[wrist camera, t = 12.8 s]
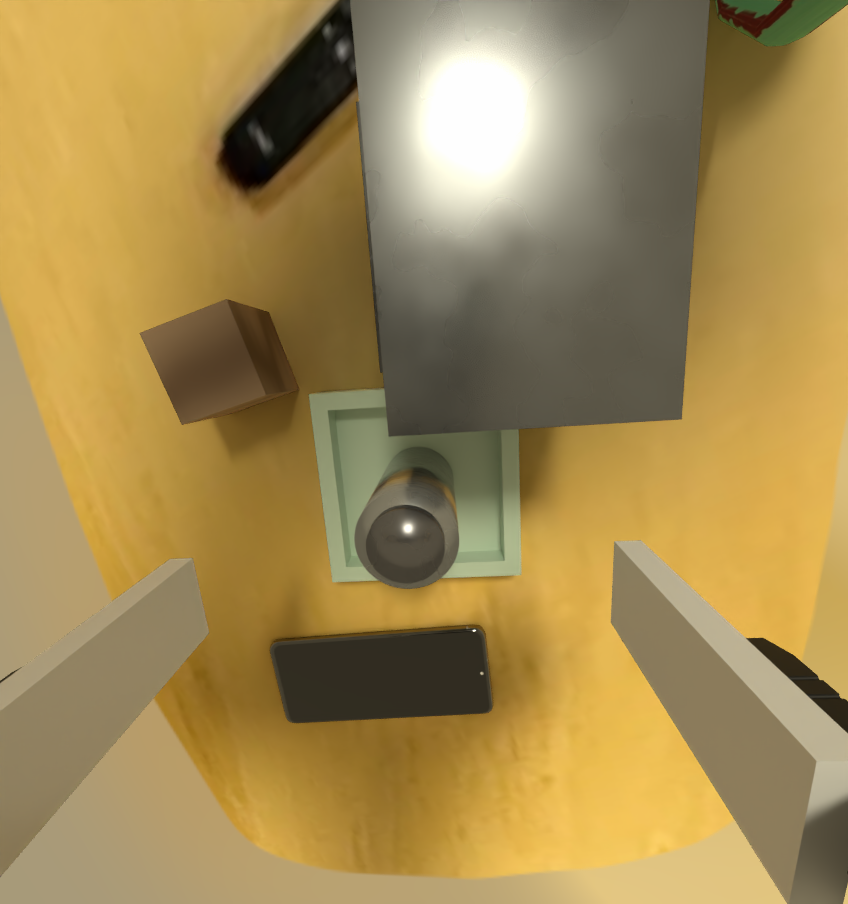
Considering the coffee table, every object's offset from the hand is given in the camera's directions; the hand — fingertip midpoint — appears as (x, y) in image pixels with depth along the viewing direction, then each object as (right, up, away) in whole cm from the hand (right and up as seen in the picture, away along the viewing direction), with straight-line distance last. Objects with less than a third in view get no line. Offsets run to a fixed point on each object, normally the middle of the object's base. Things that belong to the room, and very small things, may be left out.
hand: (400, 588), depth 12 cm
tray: (+1, +3, +14) cm, 14 cm away
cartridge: (0, +2, +13) cm, 13 cm away
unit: (+4, +14, +11) cm, 18 cm away
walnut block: (-10, +10, +13) cm, 19 cm away
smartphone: (-2, -12, +18) cm, 22 cm away
